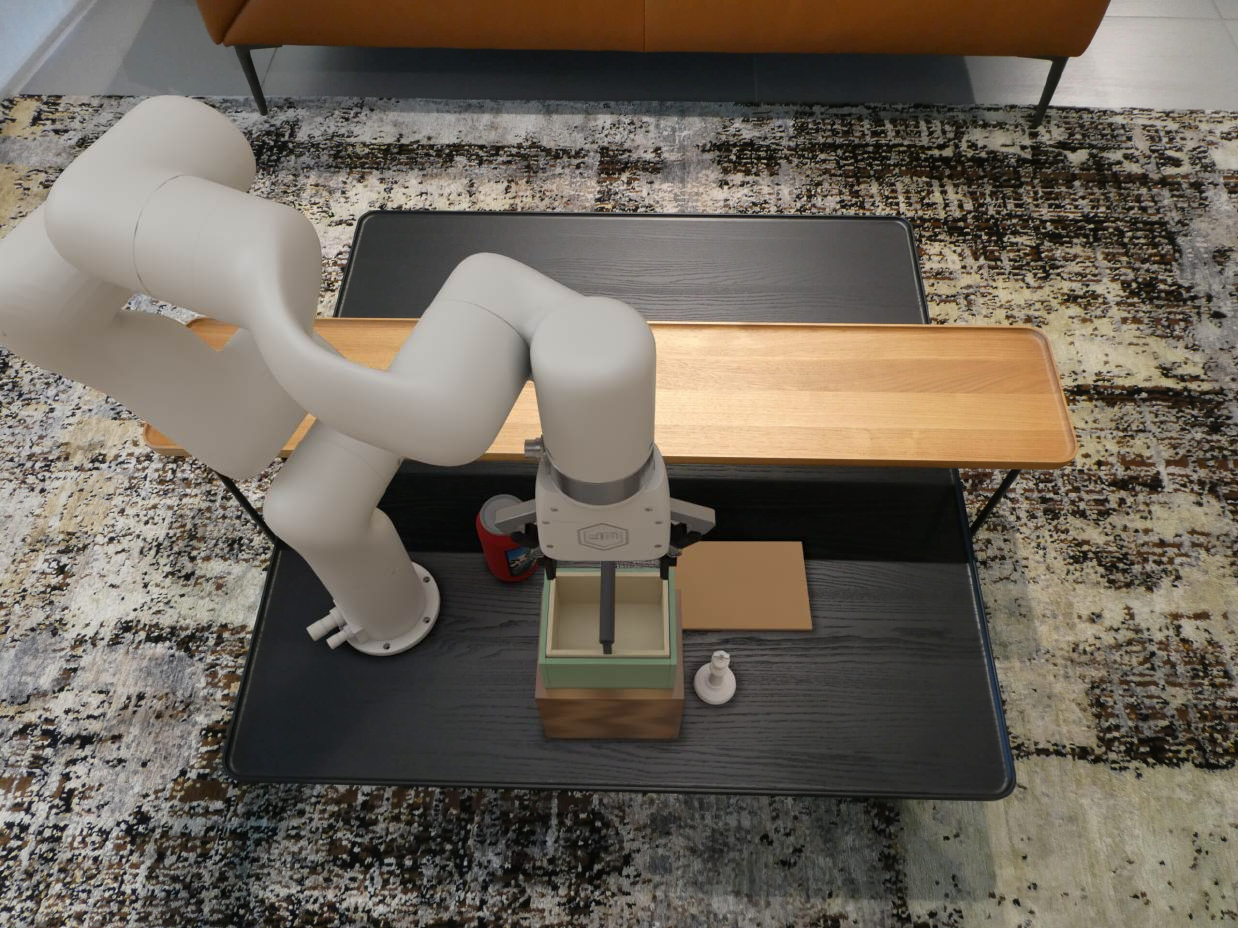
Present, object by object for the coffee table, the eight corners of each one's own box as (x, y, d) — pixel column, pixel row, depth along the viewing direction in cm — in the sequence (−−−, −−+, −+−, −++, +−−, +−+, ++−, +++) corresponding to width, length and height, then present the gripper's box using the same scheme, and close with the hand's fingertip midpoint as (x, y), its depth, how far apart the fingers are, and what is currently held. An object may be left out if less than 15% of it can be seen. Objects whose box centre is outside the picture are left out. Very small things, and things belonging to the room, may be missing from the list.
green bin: (545, 688, 85) (538, 663, 79) (550, 597, 90) (544, 567, 84) (674, 689, 85) (677, 664, 79) (671, 597, 90) (674, 568, 84)
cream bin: (551, 679, 85) (542, 639, 76) (556, 600, 89) (547, 554, 80) (667, 680, 84) (671, 639, 76) (665, 601, 89) (668, 554, 80)
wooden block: (546, 737, 96) (534, 698, 84) (552, 638, 103) (541, 588, 91) (678, 738, 96) (684, 699, 84) (675, 638, 102) (680, 589, 91)
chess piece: (696, 660, 101) (702, 628, 92) (737, 667, 100) (747, 634, 92) (691, 700, 98) (696, 670, 90) (733, 707, 97) (743, 678, 89)
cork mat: (664, 630, 103) (664, 628, 102) (662, 543, 110) (662, 541, 109) (811, 630, 103) (812, 628, 102) (800, 543, 109) (801, 541, 109)
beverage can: (533, 588, 106) (523, 543, 96) (481, 579, 107) (466, 533, 97) (546, 542, 110) (537, 494, 100) (496, 533, 111) (483, 485, 101)
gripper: (470, 499, 57) (504, 605, 71) (728, 498, 56) (710, 605, 70) (481, 410, 61) (511, 527, 75) (721, 409, 60) (706, 526, 75)
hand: (608, 564), depth 73 cm, fingers open, 9 cm apart
